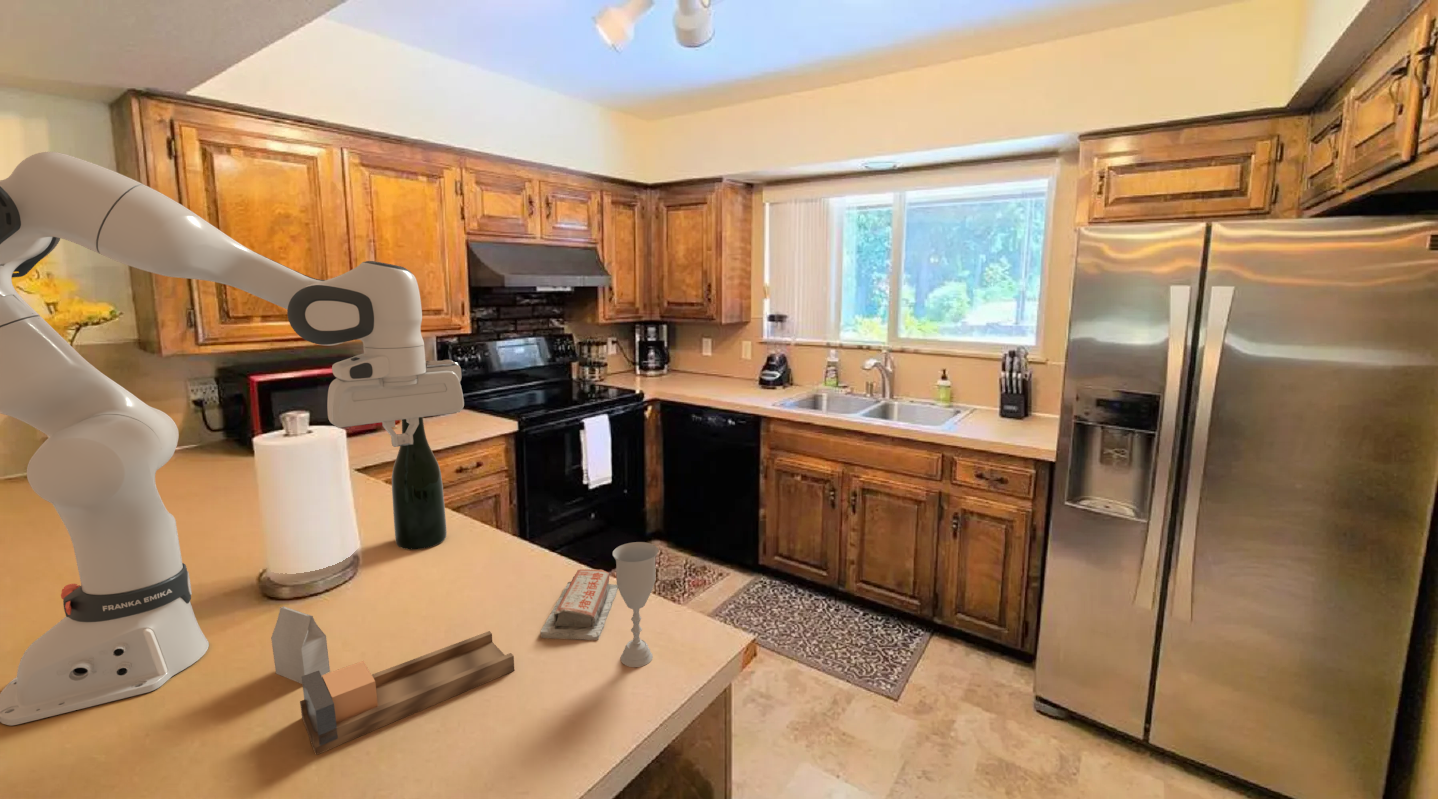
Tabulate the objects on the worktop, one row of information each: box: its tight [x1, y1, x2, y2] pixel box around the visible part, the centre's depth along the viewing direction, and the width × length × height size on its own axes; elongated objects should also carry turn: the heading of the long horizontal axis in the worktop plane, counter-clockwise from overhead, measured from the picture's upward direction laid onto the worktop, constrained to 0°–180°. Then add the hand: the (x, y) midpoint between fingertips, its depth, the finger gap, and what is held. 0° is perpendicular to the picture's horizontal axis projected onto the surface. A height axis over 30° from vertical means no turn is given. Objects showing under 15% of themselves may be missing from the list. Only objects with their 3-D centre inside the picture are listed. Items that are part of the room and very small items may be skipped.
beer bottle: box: [391, 417, 448, 551], centre depth 137 cm, size 10×10×33 cm
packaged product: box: [539, 568, 619, 641], centre depth 112 cm, size 18×5×10 cm
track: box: [299, 630, 515, 755], centre depth 89 cm, size 26×9×2 cm, turn 133°
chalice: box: [612, 541, 659, 668], centre depth 97 cm, size 7×7×18 cm
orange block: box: [322, 660, 378, 723], centre depth 84 cm, size 5×6×5 cm
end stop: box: [301, 671, 338, 746], centre depth 81 cm, size 2×9×5 cm, turn 43°
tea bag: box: [271, 605, 331, 685], centre depth 93 cm, size 4×7×10 cm, turn 67°
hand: (402, 445), depth 104 cm, fingers closed
